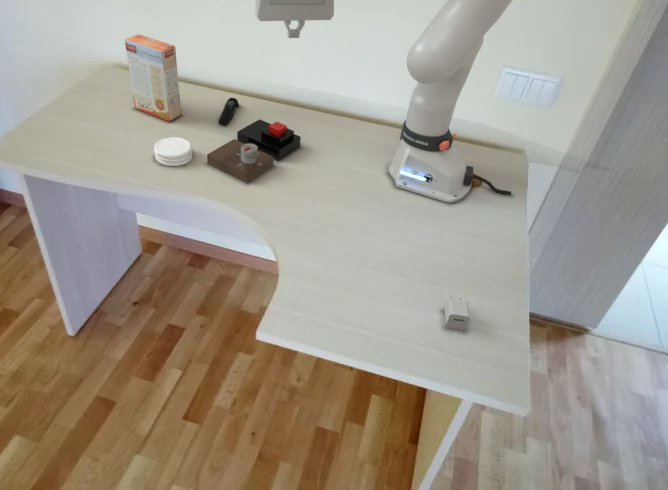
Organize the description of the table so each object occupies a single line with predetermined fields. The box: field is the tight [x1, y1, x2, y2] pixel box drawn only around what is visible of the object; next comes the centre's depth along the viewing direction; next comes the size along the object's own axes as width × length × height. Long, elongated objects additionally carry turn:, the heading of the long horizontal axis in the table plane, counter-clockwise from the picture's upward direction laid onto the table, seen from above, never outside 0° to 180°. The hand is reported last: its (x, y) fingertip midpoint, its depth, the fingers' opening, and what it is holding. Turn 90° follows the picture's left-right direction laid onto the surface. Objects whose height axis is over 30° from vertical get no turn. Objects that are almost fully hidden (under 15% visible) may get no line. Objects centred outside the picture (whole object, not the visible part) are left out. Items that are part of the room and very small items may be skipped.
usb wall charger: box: [444, 295, 471, 331], centre depth 108 cm, size 4×7×4 cm, turn 171°
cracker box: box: [124, 33, 182, 122], centre depth 156 cm, size 14×6×21 cm, turn 58°
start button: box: [269, 121, 288, 136], centre depth 148 cm, size 4×4×2 cm
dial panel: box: [206, 138, 275, 184], centre depth 144 cm, size 14×11×3 cm
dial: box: [241, 144, 258, 164], centre depth 140 cm, size 4×4×4 cm
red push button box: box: [236, 119, 302, 162], centre depth 151 cm, size 15×10×6 cm, turn 54°
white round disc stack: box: [153, 136, 194, 167], centre depth 144 cm, size 10×10×4 cm
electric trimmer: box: [217, 97, 239, 126], centre depth 163 cm, size 4×16×3 cm, turn 171°
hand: (293, 37), depth 141 cm, fingers closed
